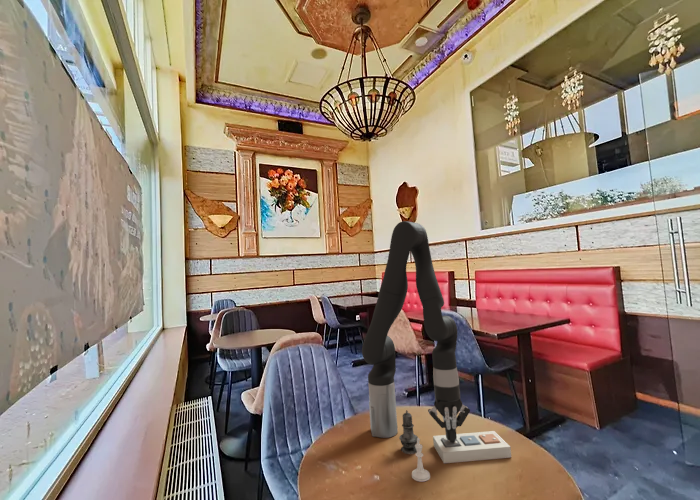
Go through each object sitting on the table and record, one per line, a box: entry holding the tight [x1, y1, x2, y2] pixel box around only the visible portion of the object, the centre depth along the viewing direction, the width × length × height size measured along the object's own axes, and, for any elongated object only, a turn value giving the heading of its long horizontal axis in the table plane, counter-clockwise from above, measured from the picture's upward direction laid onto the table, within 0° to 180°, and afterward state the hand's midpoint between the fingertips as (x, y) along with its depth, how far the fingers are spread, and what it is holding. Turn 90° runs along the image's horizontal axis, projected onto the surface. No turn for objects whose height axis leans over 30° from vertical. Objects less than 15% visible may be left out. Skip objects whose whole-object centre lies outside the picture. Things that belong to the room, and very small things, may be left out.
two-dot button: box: [479, 434, 500, 444], centre depth 102 cm, size 4×4×3 cm
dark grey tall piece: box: [399, 410, 419, 455], centre depth 105 cm, size 6×6×12 cm
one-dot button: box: [460, 435, 480, 446], centre depth 102 cm, size 4×4×3 cm
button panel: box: [432, 430, 512, 464], centre depth 102 cm, size 20×10×3 cm, turn 93°
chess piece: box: [411, 437, 431, 482], centre depth 91 cm, size 5×5×10 cm
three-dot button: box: [441, 438, 460, 448], centre depth 101 cm, size 4×4×3 cm
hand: (451, 440), depth 101 cm, fingers closed
